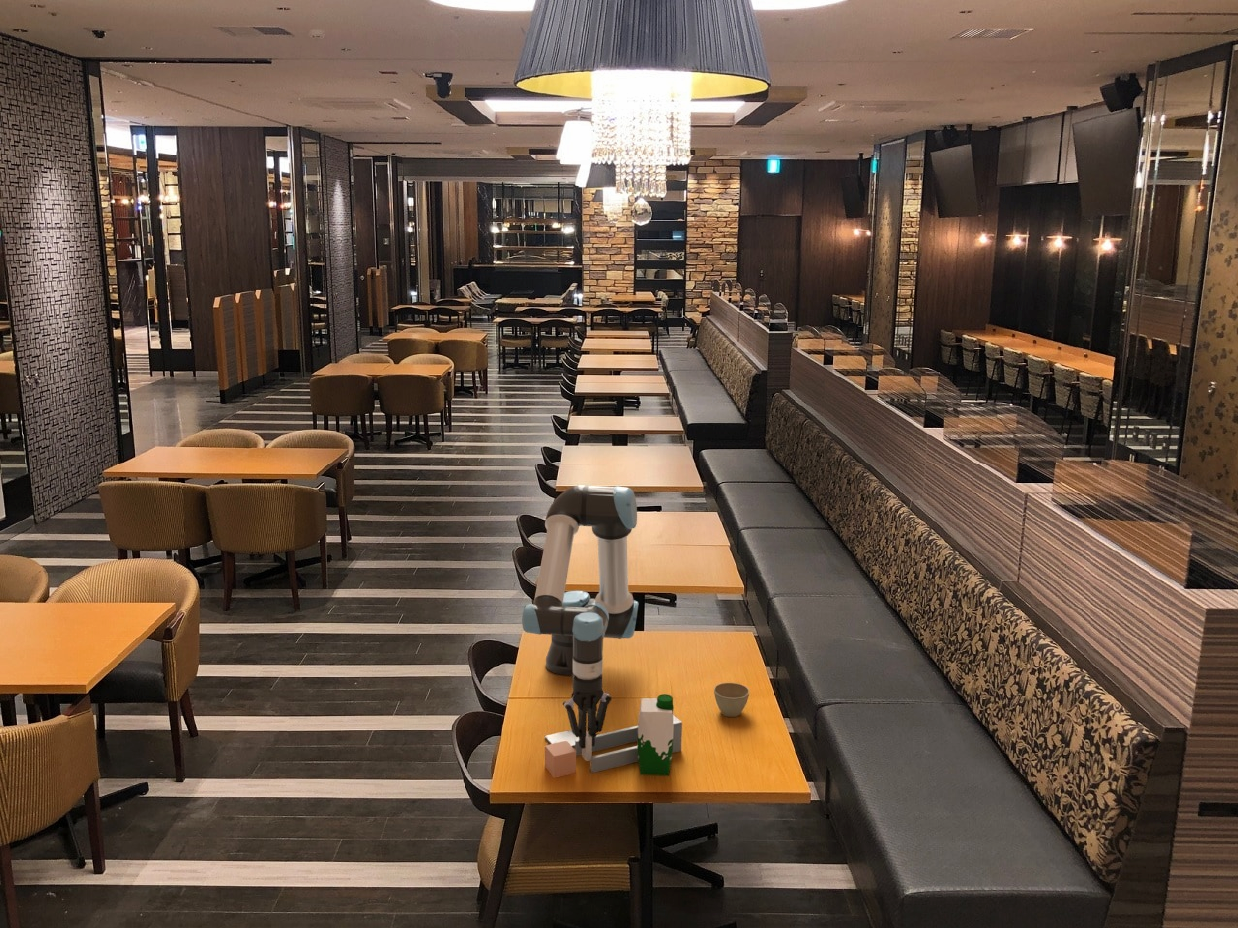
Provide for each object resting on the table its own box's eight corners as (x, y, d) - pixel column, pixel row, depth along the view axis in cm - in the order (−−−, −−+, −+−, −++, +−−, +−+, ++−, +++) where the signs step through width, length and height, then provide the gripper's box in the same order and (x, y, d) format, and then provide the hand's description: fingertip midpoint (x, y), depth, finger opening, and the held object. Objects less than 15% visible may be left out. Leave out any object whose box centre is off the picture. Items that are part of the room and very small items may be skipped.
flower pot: (752, 709, 300) (753, 686, 298) (741, 724, 291) (742, 700, 289) (719, 702, 304) (720, 679, 302) (707, 716, 295) (708, 693, 293)
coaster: (544, 738, 281) (544, 735, 281) (572, 732, 285) (572, 729, 285) (556, 752, 274) (556, 749, 274) (584, 745, 278) (584, 742, 278)
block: (544, 766, 268) (544, 745, 266) (566, 761, 270) (566, 740, 269) (554, 777, 262) (554, 756, 261) (575, 772, 265) (576, 751, 264)
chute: (575, 753, 274) (575, 724, 272) (661, 733, 285) (662, 705, 283) (592, 772, 265) (592, 743, 263) (681, 750, 276) (681, 722, 274)
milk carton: (672, 778, 264) (674, 706, 259) (636, 777, 264) (638, 704, 259) (672, 760, 272) (674, 690, 267) (637, 759, 272) (639, 688, 268)
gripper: (569, 684, 258) (569, 770, 263) (617, 674, 263) (615, 759, 269) (557, 672, 264) (557, 756, 270) (604, 663, 270) (603, 745, 276)
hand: (586, 757), depth 270 cm, fingers closed
